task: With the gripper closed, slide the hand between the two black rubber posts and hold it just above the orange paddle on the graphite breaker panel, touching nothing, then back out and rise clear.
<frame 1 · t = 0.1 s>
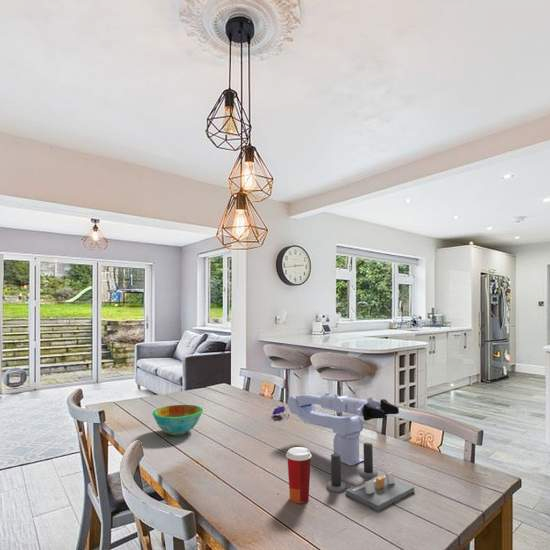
hand: (391, 412, 132), 22 cm above the table, tool horizontal, fingers open, 7 cm apart
bowl: (177, 433, 177), on the table
rubber post 2: (368, 474, 134), on the table
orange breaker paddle: (380, 482, 121), point 3 cm above the table, hinge at 10.0°
rubber post 1: (336, 487, 124), on the table
breaker panel: (380, 493, 120), on the table
game controller: (281, 417, 202), on the table
white breaker paddle 1: (369, 487, 117), point 3 cm above the table, hinge at -10.0°
paper cup: (299, 499, 117), on the table
white breaker paddle 2: (390, 477, 124), point 3 cm above the table, hinge at -10.0°
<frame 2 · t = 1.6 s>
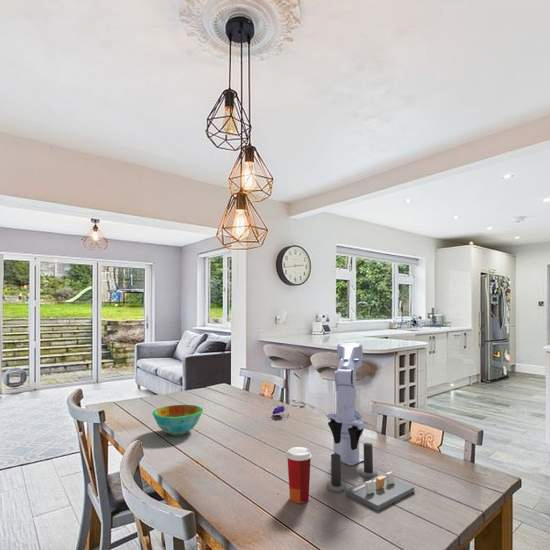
hand: (345, 446, 132), 10 cm above the table, tool pointing down, fingers open, 7 cm apart
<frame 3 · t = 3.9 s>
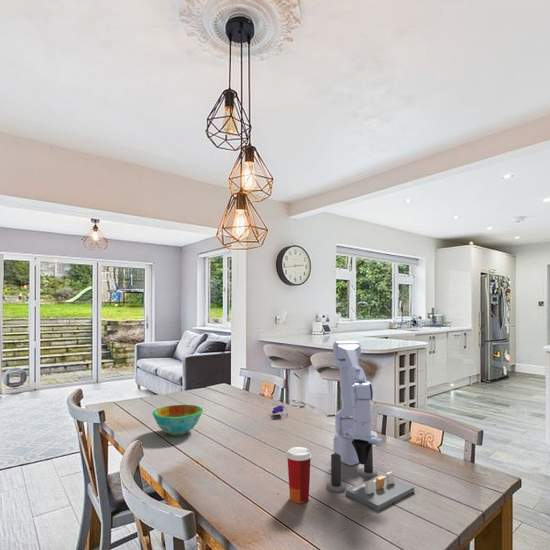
hand: (362, 463, 126), 7 cm above the table, tool pointing down, fingers closed
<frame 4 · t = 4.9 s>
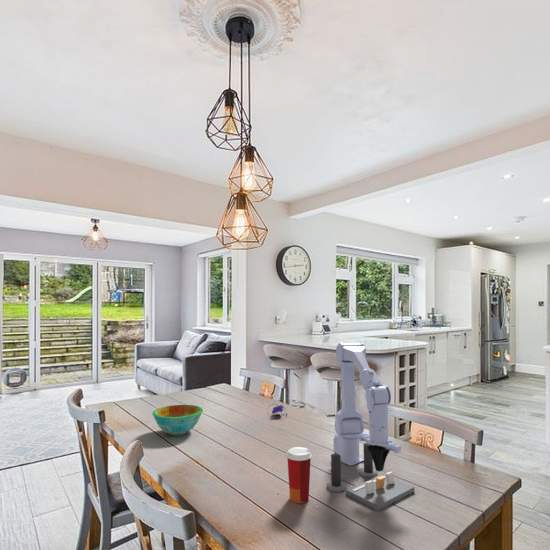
hand: (379, 470, 121), 7 cm above the table, tool pointing down, fingers closed
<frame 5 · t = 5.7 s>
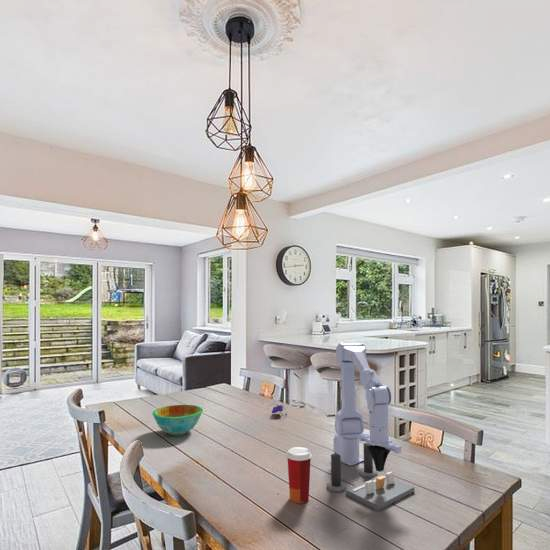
hand: (379, 470, 121), 7 cm above the table, tool pointing down, fingers closed
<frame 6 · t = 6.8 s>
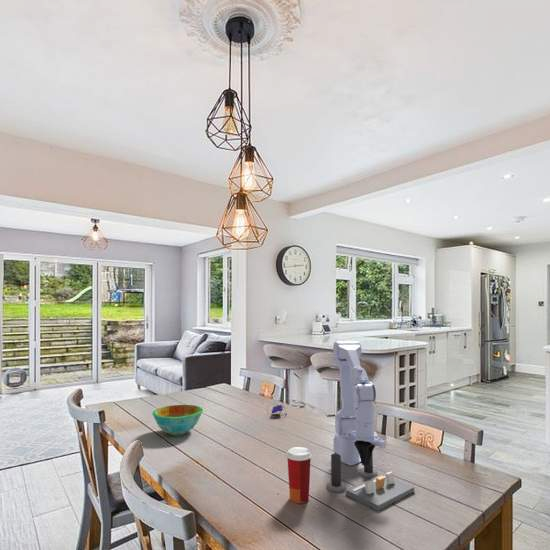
hand: (365, 464, 125), 7 cm above the table, tool pointing down, fingers closed
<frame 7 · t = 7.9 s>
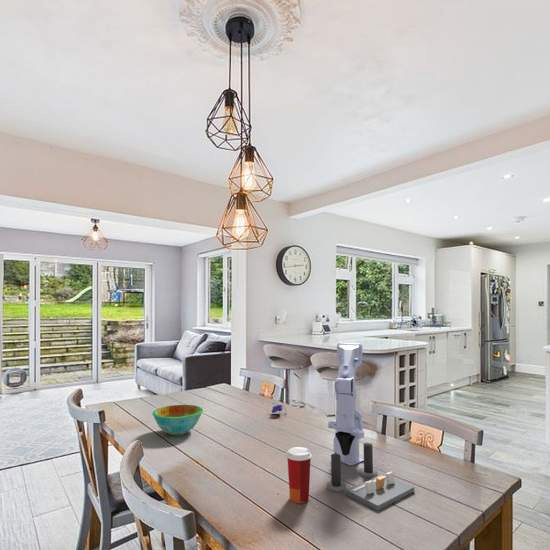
hand: (345, 454, 132), 8 cm above the table, tool pointing down, fingers closed
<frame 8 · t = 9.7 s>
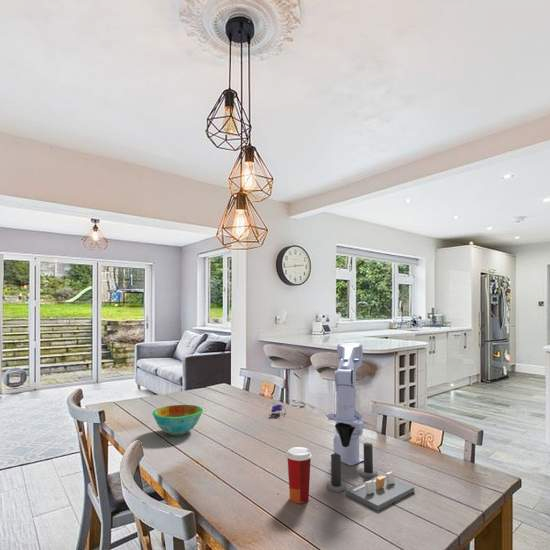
hand: (345, 446, 132), 10 cm above the table, tool pointing down, fingers closed
at the end: rubber post 2 moved 0.0 cm from its start; rubber post 1 moved 0.0 cm from its start; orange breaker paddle at +10° (first picture: +10°) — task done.
